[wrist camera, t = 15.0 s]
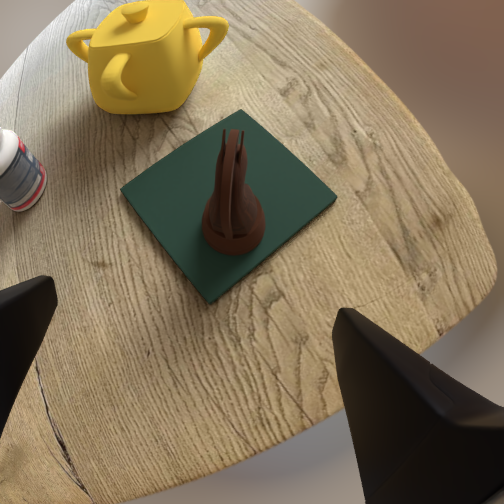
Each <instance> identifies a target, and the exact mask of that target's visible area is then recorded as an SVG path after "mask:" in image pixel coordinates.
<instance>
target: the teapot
mask: <svg viewBox="0 0 504 504" xmlns="http://www.w3.org/2000/svg"><path fill="white" fill-rule="evenodd" d="M198 28H208V29H210V34H209V37H208V39H207V41H206V42H205V44H204V45H203V46H202V40H201V36H200V32H199V29H198ZM228 28H229V25H228V22H227V21H226V20H225V19H224V18H222V17H217V16H203V17H195V18H194V17H193V15H192V14H191V12H190V10H189V8H188V7H187V5H186V3H185V2H184V1H183V0H145V1H137V2H132V3H128V4H124V5H121V6H119V7H118V8H116V9H115V10H113V11H112V12H111V13H110V14H109V15H108V16H107V17H106V18H105V19H104V20H103V21H102V22H101V24H100V25H99V26H98V28H97V29H85V30H80V31H76V32H74V33H72V34H70V35H69V36H68V38H67V40H66V43H67V46H68V48H69V49H70V50H71V51H72V52H73V53H74V54H75V55H76V56H78V57H79V58H80V59H82V60H83V61H85V62H87V63H88V77H89V84H90V89H91V92H92V96H93V98H94V101H95V103H96V104H97V105H98V106H99V107H100V108H101V109H103V110H105V111H106V112H109V113H112V114H148V113H161V112H169V111H173V110H175V109H177V108H179V107H180V106H181V105H182V104H183V103H184V102H185V100H186V99H187V98H188V96H189V94H190V93H191V91H192V89H193V87H194V85H195V83H196V81H197V79H198V77H199V75H200V72H201V69H202V64H203V59H204V58H205V57H206V56H207V55H209V54H210V53H211V52H212V51H213V50H214V49H215V48H216V47H217V46H218V45H219V44H220V43H221V42H222V40H223V39H224V38H225V36H226V34H227V31H228ZM87 39H91V40H90V43H89V47H88V46H87V45H86V44H85V43H84V42H83V40H87Z"/></svg>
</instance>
